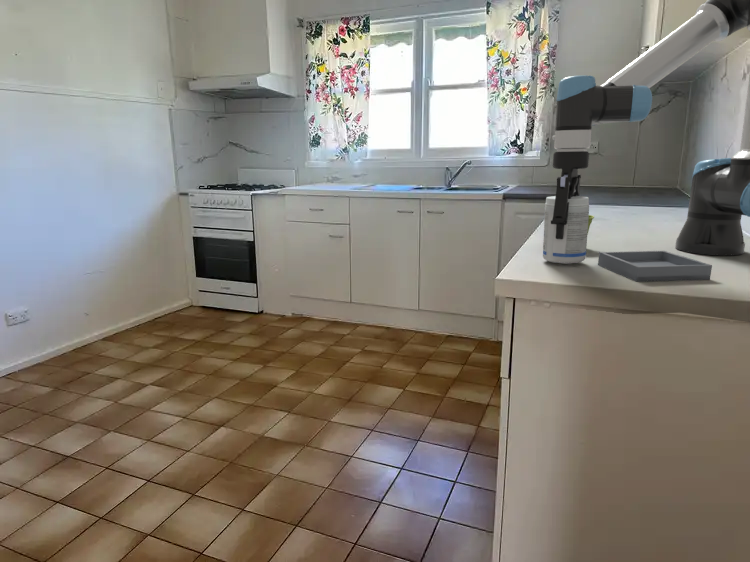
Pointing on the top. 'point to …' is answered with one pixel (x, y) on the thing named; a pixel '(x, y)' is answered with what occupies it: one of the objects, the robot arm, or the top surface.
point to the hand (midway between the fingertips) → (564, 249)
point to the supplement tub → (575, 231)
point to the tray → (654, 266)
